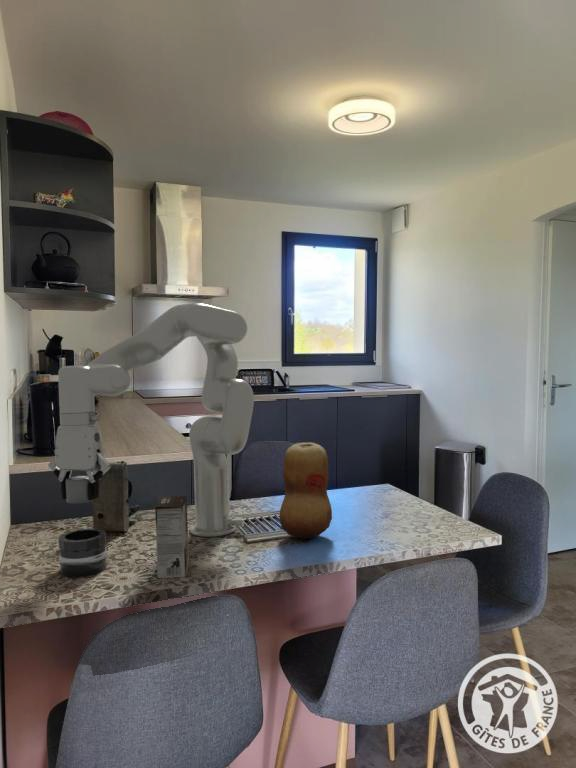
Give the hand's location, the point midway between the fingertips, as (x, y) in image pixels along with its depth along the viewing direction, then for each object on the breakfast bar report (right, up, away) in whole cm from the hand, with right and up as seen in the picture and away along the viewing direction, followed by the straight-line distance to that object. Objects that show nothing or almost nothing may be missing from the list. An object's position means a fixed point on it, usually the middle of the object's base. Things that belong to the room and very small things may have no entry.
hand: (80, 497), depth 133 cm
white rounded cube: (0, -1, 0) cm, 1 cm away
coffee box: (+22, -17, -1) cm, 27 cm away
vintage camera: (-1, -15, +35) cm, 39 cm away
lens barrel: (0, -17, +1) cm, 17 cm away
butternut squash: (+52, -15, +20) cm, 58 cm away
